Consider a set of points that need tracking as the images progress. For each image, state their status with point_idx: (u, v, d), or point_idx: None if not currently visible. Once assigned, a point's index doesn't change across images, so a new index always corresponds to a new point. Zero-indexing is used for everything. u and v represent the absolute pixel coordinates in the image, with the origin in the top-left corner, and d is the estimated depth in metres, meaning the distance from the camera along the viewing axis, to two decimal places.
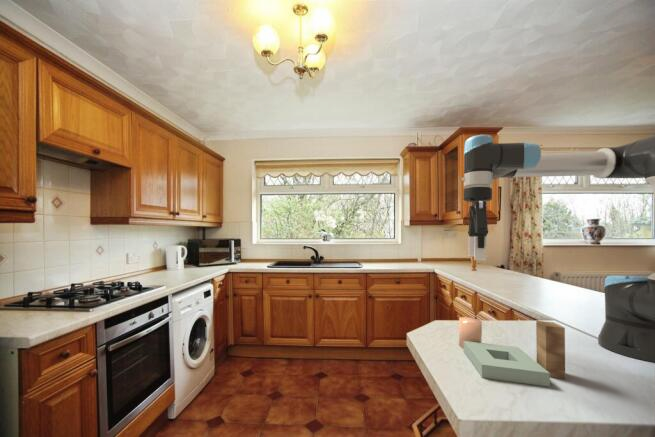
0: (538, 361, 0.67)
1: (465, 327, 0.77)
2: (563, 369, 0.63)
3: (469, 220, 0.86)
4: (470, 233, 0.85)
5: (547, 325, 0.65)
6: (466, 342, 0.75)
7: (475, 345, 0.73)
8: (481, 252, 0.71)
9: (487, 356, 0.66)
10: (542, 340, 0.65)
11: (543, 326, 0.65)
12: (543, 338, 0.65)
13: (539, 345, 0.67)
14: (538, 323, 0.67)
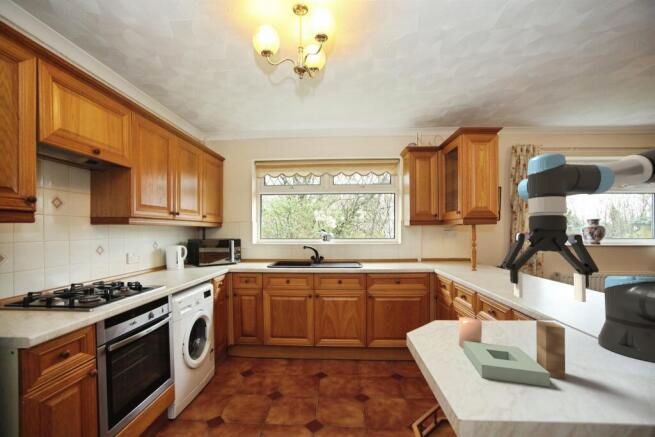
0: (538, 361, 0.67)
1: (465, 327, 0.77)
2: (563, 369, 0.63)
3: None
4: (575, 269, 0.66)
5: (547, 325, 0.65)
6: (466, 342, 0.75)
7: (475, 345, 0.73)
8: (517, 288, 0.67)
9: (487, 356, 0.66)
10: (542, 340, 0.65)
11: (543, 326, 0.65)
12: (543, 338, 0.65)
13: (539, 345, 0.67)
14: (538, 323, 0.67)
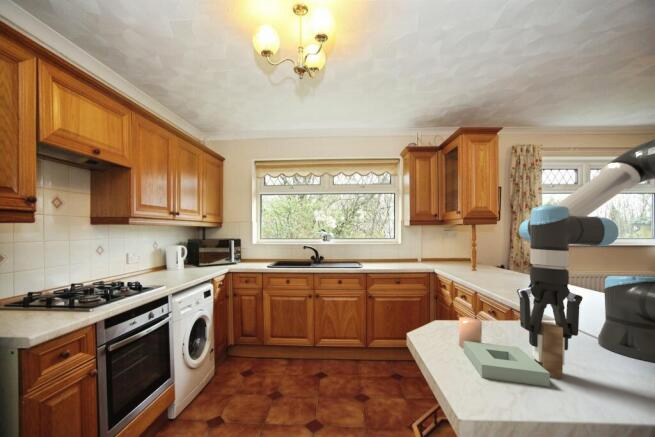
0: (536, 361, 0.67)
1: (465, 327, 0.77)
2: (560, 369, 0.63)
3: None
4: None
5: (545, 325, 0.65)
6: (466, 342, 0.75)
7: (475, 345, 0.73)
8: (536, 351, 0.66)
9: (487, 356, 0.66)
10: None
11: (541, 326, 0.65)
12: None
13: None
14: None
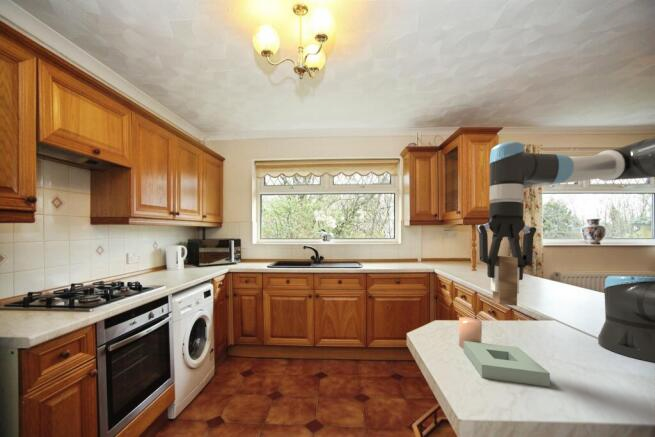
0: (494, 293, 0.70)
1: (465, 327, 0.77)
2: (515, 297, 0.66)
3: None
4: None
5: (502, 256, 0.67)
6: (466, 342, 0.75)
7: (475, 345, 0.73)
8: (493, 282, 0.68)
9: (487, 356, 0.66)
10: None
11: (498, 258, 0.68)
12: None
13: None
14: None
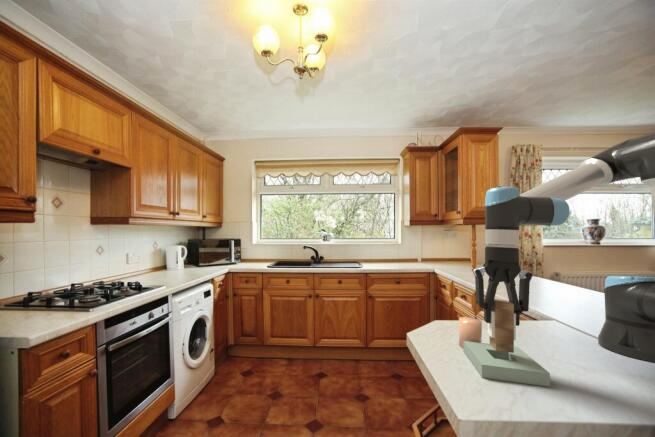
0: (490, 337, 0.69)
1: (465, 327, 0.77)
2: (512, 343, 0.65)
3: None
4: None
5: (498, 302, 0.67)
6: (466, 342, 0.75)
7: (475, 345, 0.73)
8: (490, 327, 0.68)
9: (487, 356, 0.66)
10: None
11: (494, 303, 0.67)
12: None
13: None
14: None
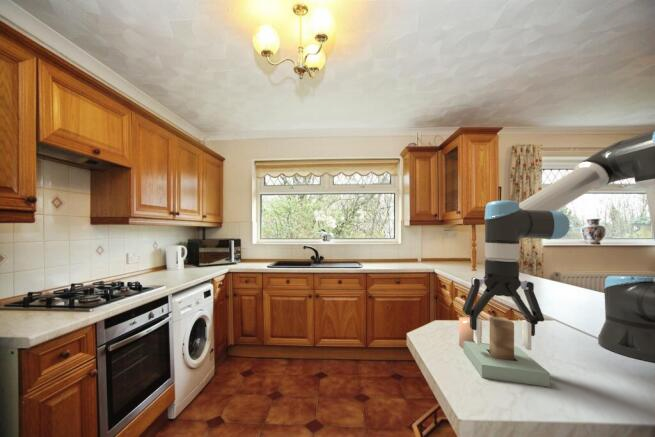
0: None
1: (465, 327, 0.77)
2: None
3: None
4: (524, 316, 0.68)
5: (498, 320, 0.67)
6: (466, 342, 0.75)
7: (475, 345, 0.73)
8: (475, 334, 0.69)
9: (487, 356, 0.66)
10: (493, 335, 0.68)
11: (495, 322, 0.67)
12: (495, 333, 0.67)
13: (491, 340, 0.69)
14: (491, 319, 0.69)
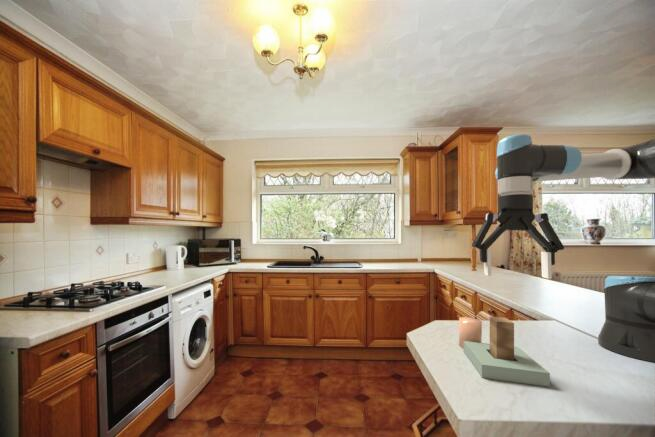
0: None
1: (465, 327, 0.77)
2: None
3: None
4: (543, 248, 0.68)
5: (498, 320, 0.67)
6: (466, 342, 0.75)
7: (475, 345, 0.73)
8: (486, 267, 0.69)
9: (487, 356, 0.66)
10: (493, 335, 0.68)
11: (495, 322, 0.67)
12: (495, 333, 0.67)
13: (491, 340, 0.69)
14: (491, 319, 0.69)
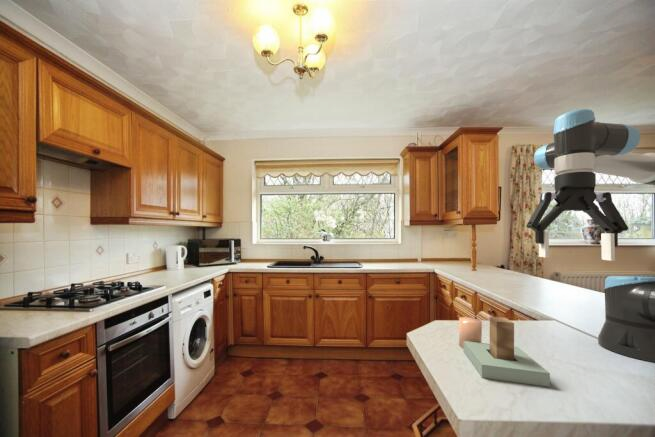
0: None
1: (465, 327, 0.77)
2: None
3: None
4: (603, 229, 0.65)
5: (498, 320, 0.67)
6: (466, 342, 0.75)
7: (475, 345, 0.73)
8: (542, 248, 0.66)
9: (487, 356, 0.66)
10: (493, 335, 0.68)
11: (495, 322, 0.67)
12: (495, 333, 0.67)
13: (491, 340, 0.69)
14: (491, 319, 0.69)
